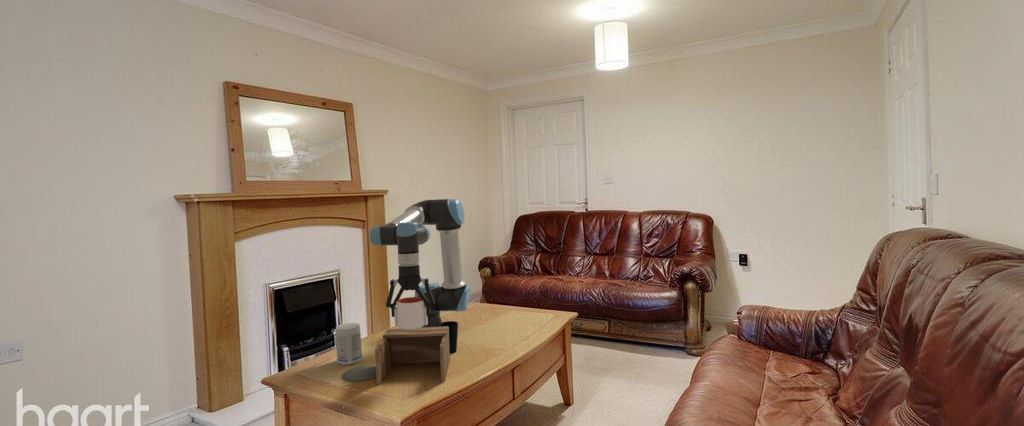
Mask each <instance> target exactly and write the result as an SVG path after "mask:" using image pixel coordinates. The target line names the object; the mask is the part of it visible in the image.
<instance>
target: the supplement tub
mask: <svg viewBox="0 0 1024 426" xmlns="http://www.w3.org/2000/svg"><path fill="white" fill-rule="evenodd" d="M361 338H362V336H361V326H360V323H357V322H347V323H342V324H341V323H340V324H339V325H337V326H336V327H335V346H336V359H337V364H339V365H342V366H349V365H354V364H357V363H359V362H361V361H362V360H363V359H362V358H363V350H362V339H361Z"/></svg>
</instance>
